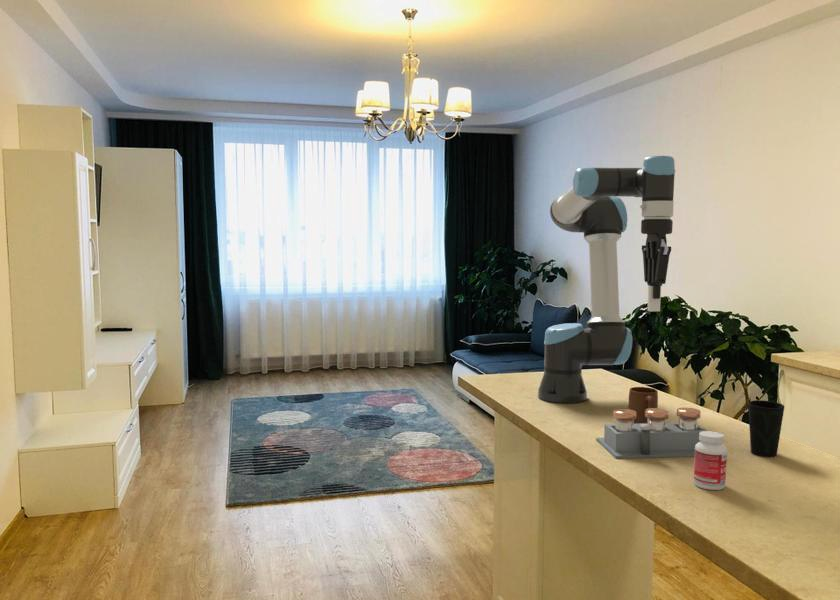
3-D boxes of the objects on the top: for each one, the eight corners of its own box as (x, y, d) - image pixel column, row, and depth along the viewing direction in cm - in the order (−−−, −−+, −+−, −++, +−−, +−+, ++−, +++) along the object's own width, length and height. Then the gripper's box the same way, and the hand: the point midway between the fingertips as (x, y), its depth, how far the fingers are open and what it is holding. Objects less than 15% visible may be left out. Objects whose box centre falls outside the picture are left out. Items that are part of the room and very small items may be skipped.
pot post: (637, 451, 164) (638, 423, 163) (648, 451, 164) (649, 423, 163) (641, 455, 161) (642, 427, 160) (652, 455, 161) (653, 426, 161)
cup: (738, 450, 166) (741, 402, 165) (761, 446, 169) (763, 399, 168) (765, 460, 159) (768, 409, 158) (789, 456, 162) (791, 406, 161)
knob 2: (671, 440, 172) (673, 407, 171) (692, 440, 172) (694, 407, 171) (681, 447, 166) (682, 413, 165) (703, 446, 167) (704, 413, 166)
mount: (596, 440, 175) (596, 420, 174) (691, 438, 177) (692, 419, 176) (615, 458, 161) (616, 437, 160) (719, 455, 163) (720, 435, 162)
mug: (666, 432, 182) (667, 397, 181) (637, 431, 182) (638, 397, 181) (651, 419, 194) (652, 386, 193) (624, 419, 194) (625, 386, 193)
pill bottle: (725, 492, 140) (728, 439, 139) (693, 488, 142) (695, 436, 141) (724, 482, 146) (726, 431, 145) (693, 478, 148) (695, 428, 147)
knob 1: (609, 442, 171) (610, 408, 170) (630, 441, 171) (631, 408, 170) (616, 448, 165) (617, 414, 164) (638, 448, 166) (639, 414, 165)
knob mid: (640, 441, 171) (641, 408, 170) (661, 440, 172) (662, 407, 171) (649, 448, 166) (650, 414, 165) (671, 447, 166) (672, 413, 165)
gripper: (632, 218, 180) (629, 308, 183) (652, 217, 167) (649, 314, 170) (660, 218, 181) (657, 308, 183) (682, 218, 168) (679, 314, 170)
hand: (653, 310), depth 176 cm, fingers closed
